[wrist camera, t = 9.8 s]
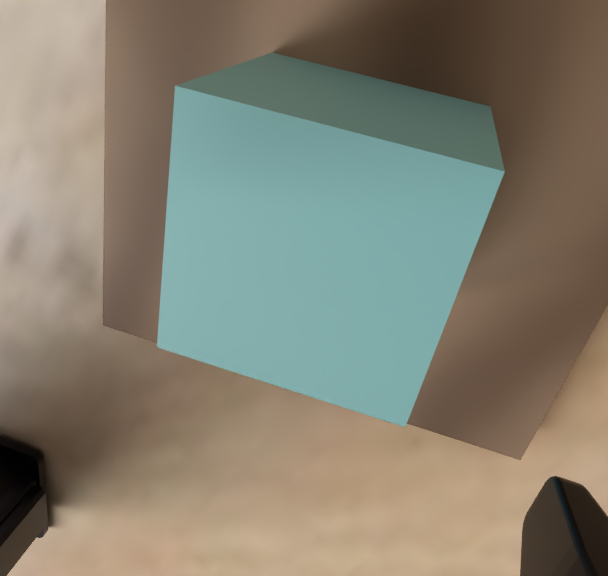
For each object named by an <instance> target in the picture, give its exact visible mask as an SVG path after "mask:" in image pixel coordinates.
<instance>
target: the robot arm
mask: <svg viewBox="0 0 608 576" xmlns="http://www.w3.org/2000/svg"><path fill="white" fill-rule="evenodd" d="M47 531H48V516H47V500H46V485H45V470H44V458H43V456H42V454H41V453H40V452H39V451H37V450H35V449H33V448H30V447H27V446H24V445H22V444H19V443H16V442H13V441H10V440H8V439H5V438H2V437H0V576H7V574H8V573H9V572H10V570H11V569H12V568H13V567H14V565H15V564H16V563H17V561H18V560H19V559H20V558H21V556H22V555H23V554H24V552H25V551H26V550H27V549H28V547H29V546H30V545H31V543H32V542H33V541H34V540H35V538H36V537H38V538H42V537H43V536H44V535H45V533H46V532H47ZM520 576H608V516H607V515H606V513H605V512H604V511H603V509H602V508H601V507H600V506H599V504H598V503H597V502H596V500H595V499H594V498H593V496H592V495H591V494H590V493H589V491H588V490H587V489H586V488H585V487H584V486H583V485H581V484H579V483H576V482H573V481H570V480H567V479H564V478H561V477H557V476H553V477H550V478H549V479H548V480H547V481H546V482H545V484H544V486H543V487H542V489H541V490H540V492H539V494H538V495H537V497H536V499H535V500H534V502H533V504H532V505H531V507H530V508H529V510H528V512H527V514H526V516H525V519H524V523H523V529H522V548H521V569H520Z"/></svg>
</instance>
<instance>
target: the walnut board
mask: <svg viewBox="0 0 608 576" xmlns="http://www.w3.org/2000/svg"><path fill="white" fill-rule="evenodd" d="M269 53H276V54H280V55H284V56H288V57H292V58H296V59H300V60H304V61H309V62H313V63H317V64H321V65H325V66H329V67H333V68H337V69H341V70H345V71H349V72H353V73H357V74H361V75H365V76H369V77H373V78H377V79H381V80H385V81H389V82H393V83H397V84H402V85H406V86H410V87H414V88H418V89H422V90H426V91H430V92H434V93H438V94H442V95H446V96H450V97H454V98H458V99H462V100H466V101H470V102H474V103H478V104H482V105H486V106H490V107H491V111H492V115H493V120H494V125H495V129H496V134H497V138H498V143H499V147H500V152H501V157H502V161H503V166H504V170H505V172H504V175H503V177H502V180H501V183H500V185H499V188H498V190H497V193H496V195H495V198H494V201H493V203H492V206H491V208H490V211H489V213H488V216H487V219H486V221H485V224H484V226H483V229H482V231H481V234H480V237H479V239H478V242H477V244H476V247H475V249H474V252H473V255H472V257H471V260H470V262H469V265H468V267H467V270H466V273H465V275H464V278H463V280H462V283H461V285H460V288H459V291H458V293H457V296H456V298H455V301H454V303H453V306H452V308H451V311H450V314H449V316H448V319H447V321H446V324H445V326H444V329H443V332H442V334H441V337H440V339H439V342H438V344H437V347H436V350H435V352H434V355H433V357H432V360H431V362H430V365H429V368H428V370H427V373H426V375H425V378H424V380H423V383H422V386H421V388H420V391H419V393H418V396H417V398H416V401H415V404H414V406H413V409H412V411H411V414H410V416H409V419H408V422H407V424H410V425H414V426H417V427H420V428H423V429H426V430H429V431H432V432H435V433H438V434H441V435H444V436H448V437H451V438H454V439H457V440H460V441H463V442H466V443H469V444H472V445H475V446H479V447H482V448H485V449H488V450H491V451H494V452H497V453H500V454H503V455H506V456H510V457H513V458H516V459H519V460H521V458H522V456H523V455H524V453H525V451H526V449H527V447H528V446H529V444H530V442H531V440H532V438H533V437H534V435H535V433H536V431H537V430H538V428H539V426H540V424H541V422H542V421H543V419H544V417H545V415H546V413H547V412H548V410H549V408H550V406H551V405H552V403H553V401H554V399H555V397H556V396H557V394H558V392H559V390H560V388H561V387H562V385H563V383H564V381H565V380H566V378H567V376H568V374H569V372H570V371H571V369H572V367H573V365H574V363H575V362H576V360H577V358H578V356H579V355H580V353H581V351H582V349H583V347H584V346H585V344H586V342H587V340H588V338H589V337H590V335H591V333H592V331H593V330H594V328H595V326H596V324H597V322H598V321H599V319H600V317H601V315H602V314H603V312H604V310H605V308H606V306H607V305H608V0H106V61H105V161H104V261H103V325H104V326H107V327H110V328H113V329H116V330H119V331H122V332H125V333H128V334H132V335H135V336H138V337H141V338H144V339H147V340H150V341H153V342H156V343H157V338H158V324H159V309H160V295H161V281H162V266H163V252H164V238H165V223H166V209H167V195H168V180H169V166H170V152H171V137H172V123H173V109H174V94H175V86H176V85H179V84H182V83H185V82H187V81H190V80H193V79H196V78H199V77H202V76H205V75H208V74H211V73H214V72H217V71H220V70H223V69H225V68H228V67H231V66H234V65H237V64H240V63H243V62H246V61H249V60H252V59H255V58H258V57H261V56H263V55H266V54H269Z"/></svg>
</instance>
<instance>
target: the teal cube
mask: <svg viewBox="0 0 608 576" xmlns="http://www.w3.org/2000/svg"><path fill="white" fill-rule="evenodd" d="M504 172H505V170H504V166H503V161H502V157H501V152H500V147H499V143H498V138H497V134H496V129H495V125H494V120H493V115H492V111H491V107H490V106H486V105H482V104H478V103H474V102H470V101H466V100H462V99H458V98H454V97H450V96H446V95H442V94H438V93H434V92H430V91H426V90H422V89H418V88H414V87H410V86H406V85H402V84H397V83H393V82H389V81H385V80H381V79H377V78H373V77H369V76H365V75H361V74H357V73H353V72H349V71H345V70H341V69H337V68H333V67H329V66H325V65H321V64H317V63H313V62H309V61H304V60H300V59H296V58H292V57H288V56H284V55H280V54H276V53H269V54H266V55H263V56H261V57H258V58H255V59H252V60H249V61H246V62H243V63H240V64H237V65H234V66H231V67H228V68H225V69H223V70H220V71H217V72H214V73H211V74H208V75H205V76H202V77H199V78H196V79H193V80H190V81H187V82H185V83H182V84H179V85H176V86H175V94H174V109H173V123H172V137H171V152H170V166H169V180H168V195H167V209H166V223H165V238H164V252H163V266H162V281H161V295H160V309H159V324H158V338H157V347H158V348H161V349H164V350H167V351H170V352H173V353H176V354H179V355H182V356H186V357H189V358H192V359H195V360H198V361H201V362H204V363H207V364H210V365H214V366H217V367H220V368H223V369H226V370H229V371H232V372H235V373H238V374H241V375H245V376H248V377H251V378H254V379H257V380H260V381H263V382H266V383H269V384H272V385H276V386H279V387H282V388H285V389H288V390H291V391H294V392H297V393H300V394H304V395H307V396H310V397H313V398H316V399H319V400H322V401H325V402H328V403H331V404H335V405H338V406H341V407H344V408H347V409H350V410H353V411H356V412H359V413H362V414H366V415H369V416H372V417H375V418H378V419H381V420H384V421H387V422H390V423H394V424H397V425H400V426H403V427H406V424H407V422H408V419H409V416H410V414H411V411H412V409H413V406H414V404H415V401H416V398H417V396H418V393H419V391H420V388H421V386H422V383H423V380H424V378H425V375H426V373H427V370H428V368H429V365H430V362H431V360H432V357H433V355H434V352H435V350H436V347H437V344H438V342H439V339H440V337H441V334H442V332H443V329H444V326H445V324H446V321H447V319H448V316H449V314H450V311H451V308H452V306H453V303H454V301H455V298H456V296H457V293H458V291H459V288H460V285H461V283H462V280H463V278H464V275H465V273H466V270H467V267H468V265H469V262H470V260H471V257H472V255H473V252H474V249H475V247H476V244H477V242H478V239H479V237H480V234H481V231H482V229H483V226H484V224H485V221H486V219H487V216H488V213H489V211H490V208H491V206H492V203H493V201H494V198H495V195H496V193H497V190H498V188H499V185H500V183H501V180H502V177H503V175H504Z"/></svg>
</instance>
